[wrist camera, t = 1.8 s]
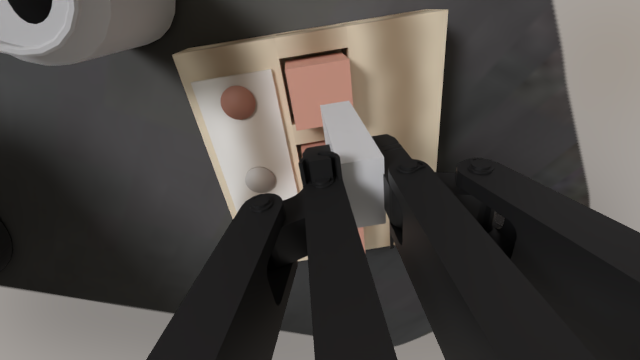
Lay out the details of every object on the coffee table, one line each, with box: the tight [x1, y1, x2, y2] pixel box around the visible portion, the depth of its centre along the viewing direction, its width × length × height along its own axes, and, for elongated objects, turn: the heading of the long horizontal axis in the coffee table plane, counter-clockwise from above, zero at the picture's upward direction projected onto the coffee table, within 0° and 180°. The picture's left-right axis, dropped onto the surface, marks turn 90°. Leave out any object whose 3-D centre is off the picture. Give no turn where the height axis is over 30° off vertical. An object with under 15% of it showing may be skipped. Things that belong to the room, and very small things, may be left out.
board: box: [172, 9, 448, 261], centre depth 28 cm, size 20×22×4 cm
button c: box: [285, 52, 353, 131], centre depth 23 cm, size 4×4×4 cm
